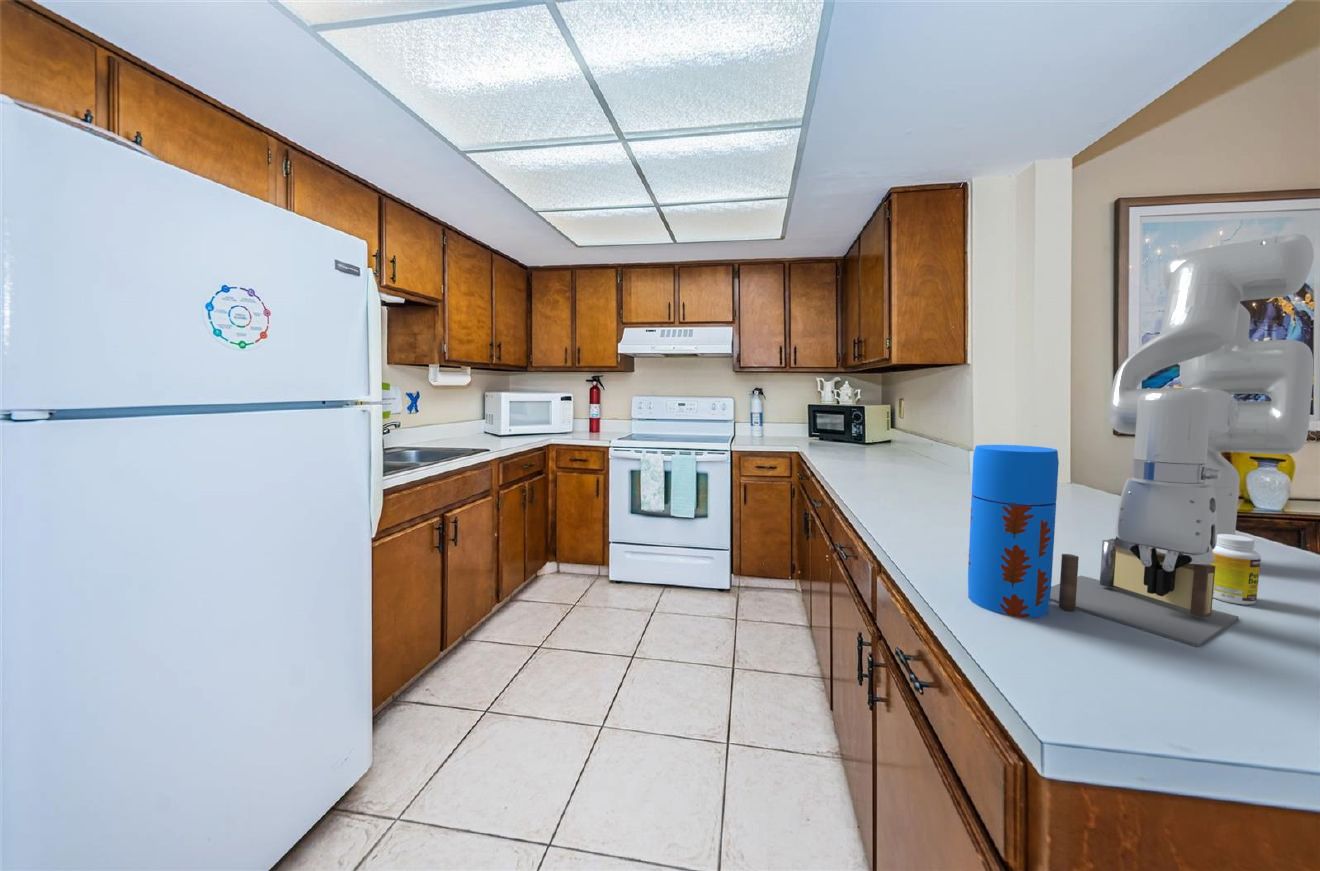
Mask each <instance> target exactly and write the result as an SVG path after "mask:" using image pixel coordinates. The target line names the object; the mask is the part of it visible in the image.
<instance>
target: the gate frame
mask: <svg viewBox="0 0 1320 871" xmlns="http://www.w3.org/2000/svg"><path fill="white" fill-rule="evenodd" d="M1109 540H1111V541H1115V538H1110V539H1109ZM1060 560H1061V562H1060V577H1059V578H1060V580H1059V583H1057V584H1055V585H1053V586H1052V585H1051V593H1050V601H1049V602H1052V603H1055V604H1058V608H1059V609H1061V610H1063V611H1067V612H1076V610H1078V611H1081V612H1085V613H1087V614H1091V615H1094V616H1096V617H1097V616H1098V617H1100V618H1104V619H1107V620H1110V621H1113V622H1116V623H1119V624H1123V625H1125V626H1126V625H1127V626H1129V627H1132V628H1136V629H1139V630H1142V631H1146V632H1149V633H1151V634H1154V635H1159V636H1162V637H1164V638H1168V639H1170V640H1174V641H1177V642H1180V643H1184V644H1186V645H1187V644H1188V645H1190V646H1193V647H1197V648H1199V647H1200V646H1202V645H1204V644H1205V643H1206V642H1208V641H1209V640H1210V639H1212V638H1213V637H1215V636H1216V635H1218V634H1220V633H1221V632H1222V631H1224V630H1225V629H1227V628H1228V627H1230V626H1231V625H1232V624H1233V623H1235V622H1236V621H1238V620H1239V616H1238V615H1235V614H1231V613H1227V612H1222V611H1219V610H1215V609H1212V611H1211V616H1210V617H1205V618H1202V617H1199V616H1196V615H1193V614H1190V611H1191V610H1190V609H1187V608H1183V607H1180V606H1177V605H1174V604H1171V603H1168V602H1164V601H1161V600H1158V599H1155V598H1152V597H1149V596H1146V595H1142V594H1139V593H1136V592H1133V591H1130V590H1127V589H1124V588H1120V587H1117V586H1116V587H1106V586H1102V585H1100V579H1095V578H1092V577H1090V576H1085V575H1079V576H1078V572H1079V556H1078V555H1075V554H1071V553H1070V554H1069V553H1061V559H1060Z"/></svg>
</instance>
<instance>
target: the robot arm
mask: <svg viewBox="0 0 1320 871" xmlns="http://www.w3.org/2000/svg"><path fill="white" fill-rule="evenodd" d="M1314 253H1315V252H1314V246H1313V243H1312V241H1311V239H1310V238H1309V237H1308V236H1306V235H1304V234H1301V233H1295V234H1287V235H1280V236H1272V237H1267V238H1261V239H1254V240H1249V241H1243V242H1237V243H1236V242H1235V243H1229V244H1221V245H1217V246H1211V247H1205V248H1200V249H1199V248H1198V249H1195V250H1192V251H1187V252H1184V253H1181V254H1178V255H1176V256H1173V257H1171V258H1170V259H1169V260H1168V261H1167V262H1166V263H1165V264H1164V267H1163V270H1162V272H1163V273H1162V275H1163V276H1162V277H1163V282H1164V286H1165V288H1166V291H1167V296H1166V300H1165V304H1164V309H1163V310H1164V311H1163V316H1162V320H1161V324H1160V329H1159V330H1160V332H1159V334H1157V335H1156V336H1155V337H1152V338H1151V339H1150V340H1148V341H1147V342H1145V343H1144V344H1142V345H1141V346H1139V347H1138V348H1136V349H1135V351H1133V352H1132V353H1131V354H1130V355H1129V356H1128V357H1127V358H1126V359H1124V361H1123V362H1122V363H1121V365H1120V367H1119V368H1118V369H1117V371H1116V373H1115V375H1114V378H1113V382H1112V388H1111V391H1110V395H1109V397H1108V398H1109V399H1108V404H1107V410H1106V411H1107V412H1106V413H1107V416H1106V417H1107V421H1108V425H1109V426H1110V427H1111V428H1112V429H1113V430H1114V431H1116V432H1118V433H1120V434H1125V435H1134V447H1133V448H1134V449H1133V462H1132V475H1131V477H1127V478H1126V480H1125V482H1124V485H1123V488H1122V491H1121V495H1120V499H1119V503H1118V507H1117V513H1116V517H1115V518H1116V519H1115V538H1114V539H1115V541H1114V544H1115V545H1116V546H1118V547H1121V548H1123V549H1126V550H1129V551H1131V552H1132V553H1133V554H1134V555H1135V556H1136V557H1137V558H1138V559H1139V560H1140V561H1141V563H1142V565H1144V566H1145V569H1144V582H1143V583H1144V585H1147V593H1150V594H1153V593H1155V594H1157V595H1158V596H1164V595H1166V594H1168V593H1169V591H1171V592H1172V591H1173V590H1174V586H1175V574H1176V569H1177V568H1180V567H1182V566H1184V565H1186V564H1207V565H1208V564H1212V563H1214V562H1215V558H1214V554H1213V551H1212V550H1213V549H1214V548H1215V547H1216V545H1217V544H1216V543H1217V535H1218V534H1231V535H1236V527H1237V518H1238V516H1237V515H1238V505H1239V504H1238V503H1239V496H1240V495H1239V493H1240V482H1241V477H1240V475H1239V474H1240V473H1239V472H1238V470H1237V468H1235V466H1234V465H1233V464H1232V463H1231V462H1229V460H1227V459H1226V458H1225V457H1224V456H1223V455H1222V454H1221V453H1247V454H1263V455H1265V454H1266V455H1267V454H1268V455H1289V454H1290V455H1291V454H1295V453H1297V452H1299V451H1300V450H1302V449H1303V448H1304V446H1305V444H1306V442H1307V440H1308V436H1309V435H1308V434H1309V429H1310V428H1309V427H1310V417H1311V416H1310V415H1311V407H1312V406H1311V405H1312V395H1313V394H1312V393H1313V384H1314V383H1313V381H1314V357H1313V355H1314V354H1313V353H1312V352H1313V351H1312V350H1311V348H1310V346H1309V345H1307V344H1306V343H1304V342H1302V341H1300V340H1296V339H1271V340H1270V339H1269V340H1254V341H1253V340H1251V339H1250V336H1249V335H1250V327H1251V326H1250V325H1251V313H1250V312H1249V310H1248V309H1247V308H1246V307H1245V306H1244V305H1243V304H1242V303H1241V302H1244V301H1252V300H1262V299H1263V300H1265V299H1273V298H1283V297H1289V296H1292V295H1295V294H1296V293H1298V292H1299V291H1300V290H1301V289H1302V288H1303V286H1304V285H1305V283H1306V282H1307V279H1308V278H1309V274H1310V272H1311V269H1312V266H1313V263H1314V258H1315V257H1314V255H1315V254H1314ZM1178 364H1179V382H1180V386H1181V387H1182V388H1180V387H1178V388H1177V387H1176V388H1174V387H1173V388H1169V387H1168V388H1167V387H1164V388H1138V386H1139V385H1140V384H1141V383H1142V382H1143V381H1144V380H1146V378H1148V377H1149V376H1152V374H1154V373H1157V372H1159V371H1160V370H1164V369H1165V368H1168V367H1172V366H1174V365H1178ZM1232 394H1235V395H1236V394H1247V395H1248V394H1252V395H1253V394H1261V395H1265V396H1267V397H1269V398H1270V399H1271V400H1270V401H1269V400H1266V401H1265V400H1261V401H1260V400H1259V401H1258V400H1255V401H1254V400H1253V401H1252V400H1249V401H1248V400H1236V399H1235V398H1234V397H1233V396H1232ZM1158 552H1160V553H1164V554H1166V556H1165V559H1164V562H1163V565H1160V562H1159V560H1158Z"/></svg>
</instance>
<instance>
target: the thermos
mask: <svg viewBox="0 0 1320 871" xmlns="http://www.w3.org/2000/svg"><path fill="white" fill-rule="evenodd" d="M973 452H974V453H973V458H972V475H971V476H972V478H971V499H970V500H971V501H970V504H971V505H970V521H969V522H970V524H969V525H970V526H969V542H968V544H969V545H968V547H969V548H968V565H967V566H968V568H967V586H968V587H967V589H968V590H967V591H968V592H967V593H968V599H969V600H970V601H971V602H972V603H973V604H974V605H976V606H978V607H980V608H982V609H985V610H986V611H990V612H992V613H993V612H994V613H996V614H999V615H1004V616H1008V617H1015V618H1030V619H1031V618H1032V619H1035V618H1041V617H1042V618H1043V617H1044V616H1046V615H1047V614H1048V613H1049V607H1050V602H1051V601H1050V593H1051V587H1052V581H1053V580H1052V579H1053V565H1054V564H1053V562H1054V546H1055V530H1056V528H1055V527H1056V511H1057V496H1058V495H1057V494H1058V493H1057V492H1058V483H1059V482H1058V479H1059V464H1060V463H1059V462H1060V461H1059V453H1058V449H1056V448H1051V447H1044V446H1036V445H1035V446H1034V445H1033V446H1032V445H1022V444H1021V445H1016V444H980V445H979V444H978V445H975V447H974V451H973Z"/></svg>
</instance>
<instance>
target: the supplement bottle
mask: <svg viewBox="0 0 1320 871" xmlns="http://www.w3.org/2000/svg"><path fill="white" fill-rule="evenodd" d="M1216 544H1217V545H1216V547H1215V548H1214V549H1213V550H1212V551H1213V554H1214V558H1215V562H1214V563H1212V564H1210V565H1214V566H1215V578H1214V589H1213V599H1216V600H1217V601H1222V602H1226V603H1230V604H1236V605H1253V604H1256V602H1257V597H1258V588H1259V580H1260V571H1261V569H1260V567H1261V561H1262V560H1261V559H1262V558H1261V557H1262V556H1261V554H1260V553H1259V552H1258V551H1255V550H1254V549H1255V539H1254V538H1251V537H1247V536H1245V535H1244V536H1243V535H1236V534H1235V535H1231V534H1218V535H1217V543H1216Z"/></svg>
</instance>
